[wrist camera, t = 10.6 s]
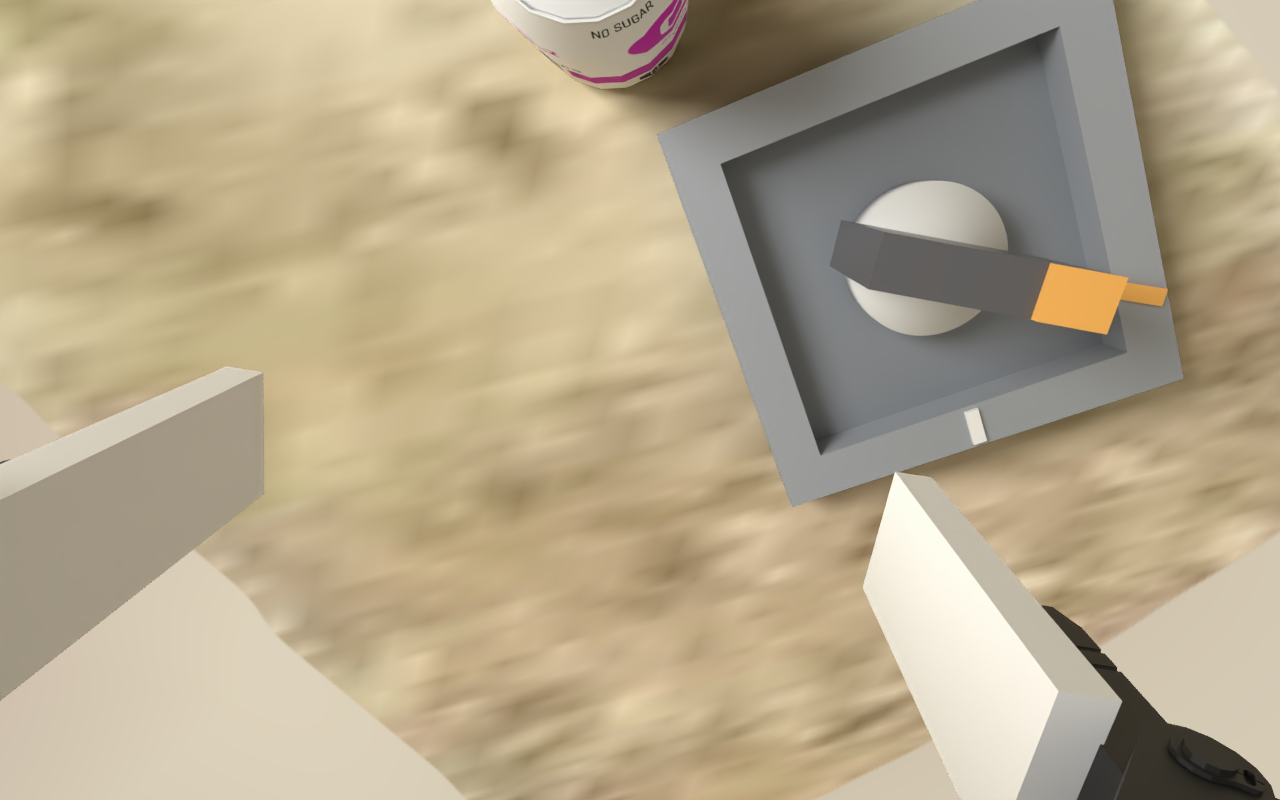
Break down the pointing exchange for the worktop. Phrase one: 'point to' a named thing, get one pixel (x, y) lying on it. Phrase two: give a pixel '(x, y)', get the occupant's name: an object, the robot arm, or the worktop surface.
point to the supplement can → (601, 35)
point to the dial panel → (916, 151)
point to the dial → (959, 266)
